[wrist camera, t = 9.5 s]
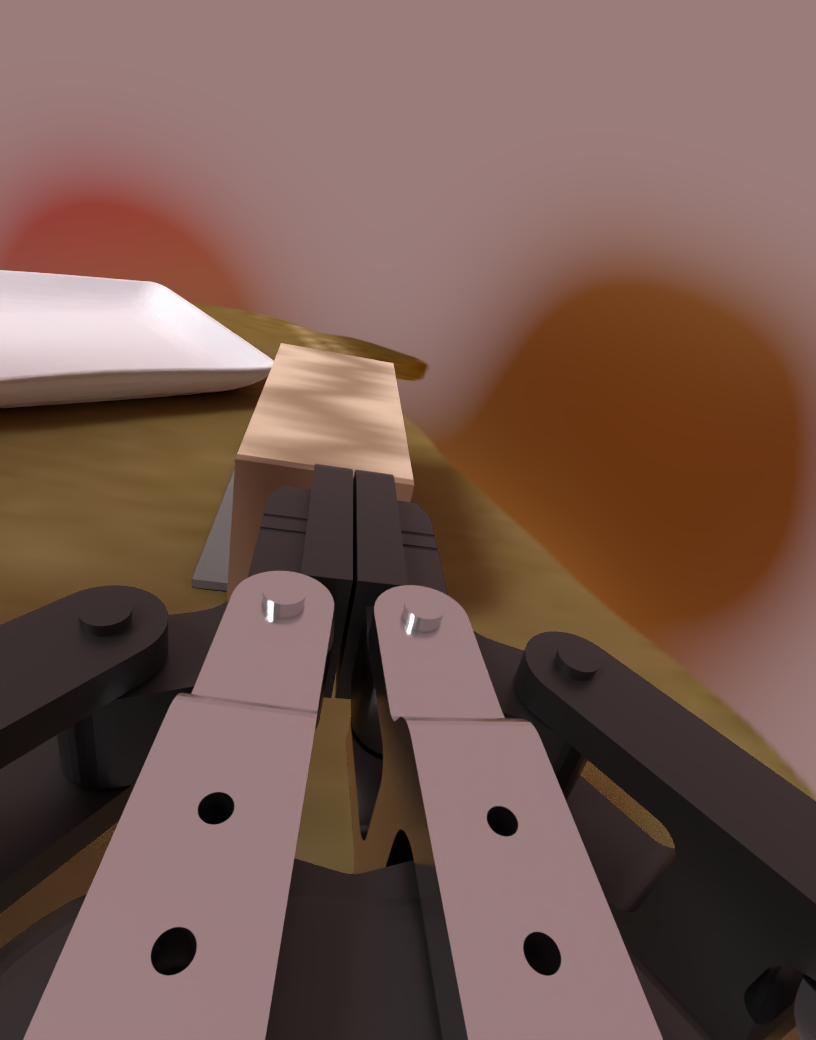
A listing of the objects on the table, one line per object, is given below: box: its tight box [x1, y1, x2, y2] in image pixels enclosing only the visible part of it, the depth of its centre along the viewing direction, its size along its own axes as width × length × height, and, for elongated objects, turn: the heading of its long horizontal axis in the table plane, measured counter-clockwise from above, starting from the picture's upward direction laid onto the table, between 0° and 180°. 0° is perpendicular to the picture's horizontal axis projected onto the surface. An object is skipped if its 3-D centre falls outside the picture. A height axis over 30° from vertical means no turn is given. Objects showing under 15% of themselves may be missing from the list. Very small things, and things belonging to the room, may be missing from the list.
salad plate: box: [0, 270, 274, 408], centre depth 40 cm, size 21×21×3 cm
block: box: [227, 343, 414, 602], centre depth 28 cm, size 6×6×14 cm
